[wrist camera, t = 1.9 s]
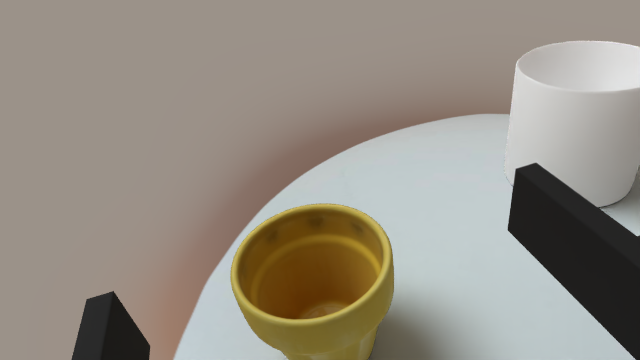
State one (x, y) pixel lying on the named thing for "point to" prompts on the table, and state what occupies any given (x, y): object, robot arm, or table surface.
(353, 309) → the flower pot
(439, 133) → the table surface
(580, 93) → the cup
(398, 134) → the table surface
